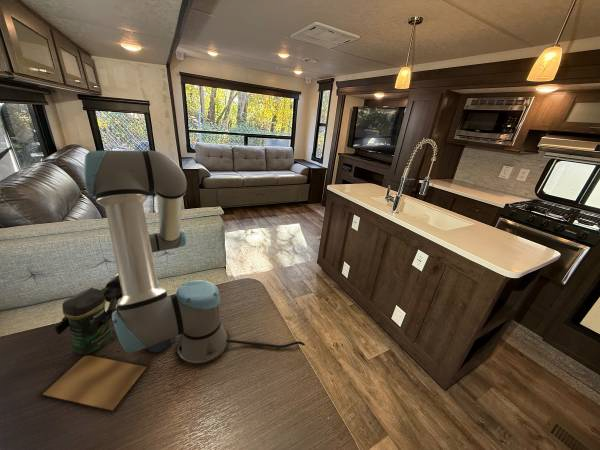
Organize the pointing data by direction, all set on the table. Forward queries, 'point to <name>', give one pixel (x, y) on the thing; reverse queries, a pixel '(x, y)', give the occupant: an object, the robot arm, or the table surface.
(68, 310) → the coffee jar
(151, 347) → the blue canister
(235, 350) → the table surface
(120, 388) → the cork mat
